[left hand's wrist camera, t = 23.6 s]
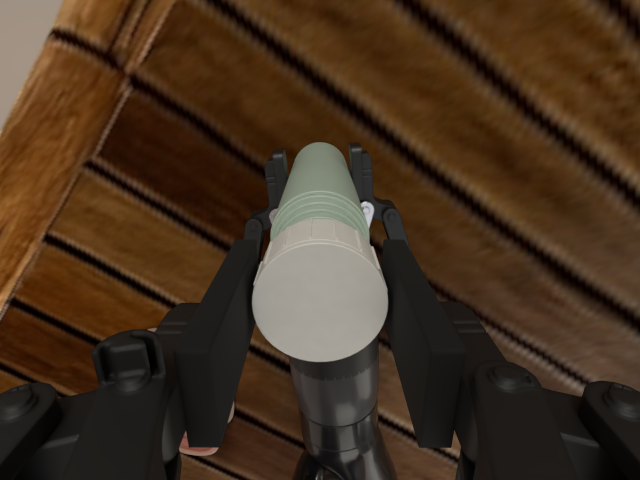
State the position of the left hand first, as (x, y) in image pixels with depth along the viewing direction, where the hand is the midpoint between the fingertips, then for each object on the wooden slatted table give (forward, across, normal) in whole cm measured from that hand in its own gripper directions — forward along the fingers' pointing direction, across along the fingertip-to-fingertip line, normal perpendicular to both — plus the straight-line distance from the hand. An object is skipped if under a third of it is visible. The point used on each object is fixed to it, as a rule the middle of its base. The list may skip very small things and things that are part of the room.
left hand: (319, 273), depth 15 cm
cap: (-2, 0, 0) cm, 2 cm away
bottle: (+21, 0, 0) cm, 21 cm away
